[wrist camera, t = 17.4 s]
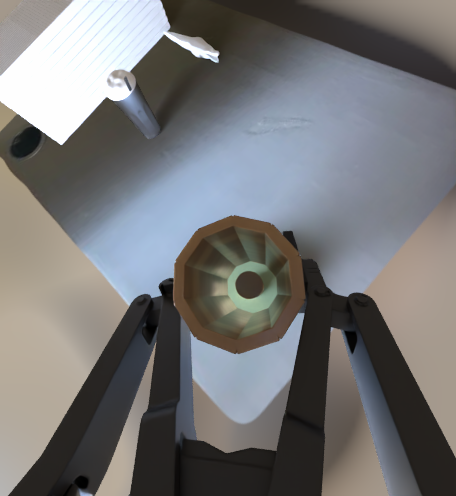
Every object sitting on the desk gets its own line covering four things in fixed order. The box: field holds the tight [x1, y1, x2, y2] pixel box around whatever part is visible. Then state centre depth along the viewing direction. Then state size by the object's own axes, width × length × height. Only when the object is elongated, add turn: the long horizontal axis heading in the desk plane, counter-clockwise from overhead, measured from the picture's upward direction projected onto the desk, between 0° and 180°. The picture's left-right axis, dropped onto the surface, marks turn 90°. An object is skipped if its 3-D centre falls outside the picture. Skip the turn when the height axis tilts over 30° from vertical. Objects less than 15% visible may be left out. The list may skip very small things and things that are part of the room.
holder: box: [228, 261, 277, 313], centre depth 21 cm, size 9×9×9 cm
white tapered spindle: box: [163, 31, 219, 62], centre depth 37 cm, size 15×3×2 cm, turn 50°
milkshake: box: [104, 69, 161, 139], centre depth 30 cm, size 4×5×10 cm
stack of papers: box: [0, 0, 171, 145], centre depth 35 cm, size 32×11×11 cm, turn 139°
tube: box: [173, 215, 306, 354], centre depth 15 cm, size 6×7×12 cm
